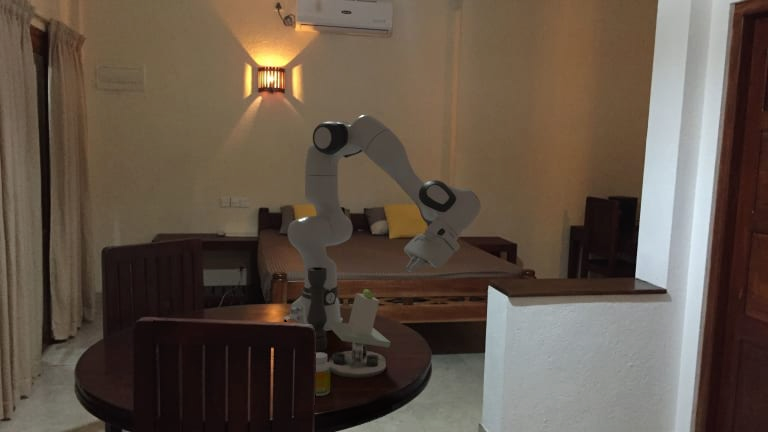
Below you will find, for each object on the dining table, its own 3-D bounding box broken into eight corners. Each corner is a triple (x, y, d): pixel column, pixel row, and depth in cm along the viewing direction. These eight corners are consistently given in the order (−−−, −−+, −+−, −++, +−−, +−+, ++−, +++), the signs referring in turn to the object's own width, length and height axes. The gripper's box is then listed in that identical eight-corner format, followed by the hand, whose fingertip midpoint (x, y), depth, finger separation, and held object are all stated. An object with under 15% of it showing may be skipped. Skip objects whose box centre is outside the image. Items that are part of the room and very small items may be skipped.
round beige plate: (373, 354, 170) (374, 327, 169) (394, 373, 155) (394, 344, 154) (322, 360, 164) (322, 332, 163) (338, 381, 149) (338, 350, 149)
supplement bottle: (329, 396, 140) (330, 358, 139) (308, 396, 140) (308, 358, 139) (330, 387, 146) (330, 351, 145) (309, 387, 145) (309, 351, 144)
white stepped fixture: (371, 332, 168) (382, 289, 168) (389, 347, 155) (400, 300, 155) (327, 325, 163) (338, 281, 162) (342, 340, 150) (354, 292, 149)
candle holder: (312, 352, 170) (312, 271, 168) (303, 346, 176) (303, 268, 173) (330, 349, 174) (330, 269, 171) (321, 343, 179) (322, 266, 176)
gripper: (418, 224, 174) (388, 257, 171) (449, 233, 155) (416, 270, 152) (430, 238, 176) (401, 270, 173) (463, 248, 157) (431, 285, 154)
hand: (408, 270), depth 162 cm, fingers closed
